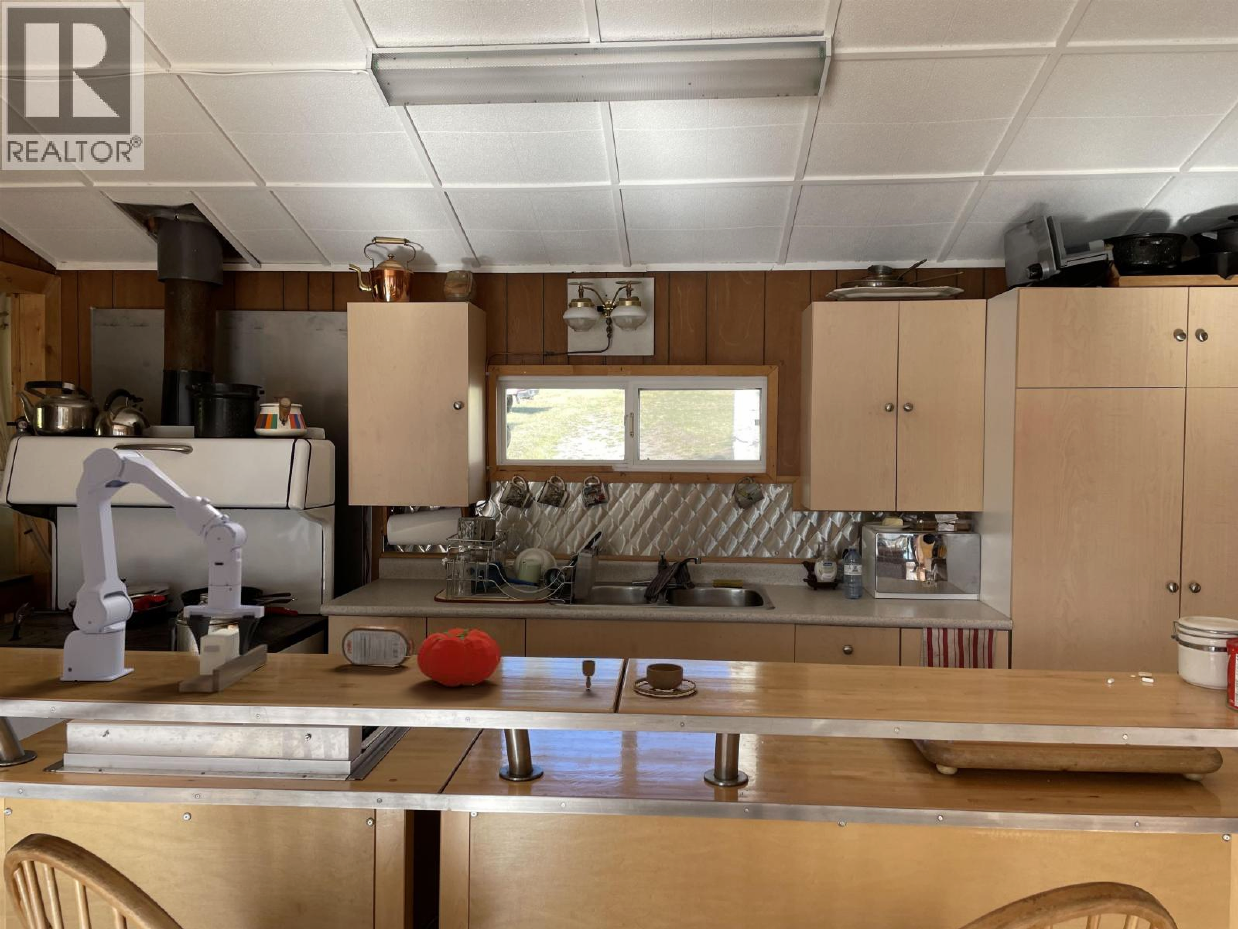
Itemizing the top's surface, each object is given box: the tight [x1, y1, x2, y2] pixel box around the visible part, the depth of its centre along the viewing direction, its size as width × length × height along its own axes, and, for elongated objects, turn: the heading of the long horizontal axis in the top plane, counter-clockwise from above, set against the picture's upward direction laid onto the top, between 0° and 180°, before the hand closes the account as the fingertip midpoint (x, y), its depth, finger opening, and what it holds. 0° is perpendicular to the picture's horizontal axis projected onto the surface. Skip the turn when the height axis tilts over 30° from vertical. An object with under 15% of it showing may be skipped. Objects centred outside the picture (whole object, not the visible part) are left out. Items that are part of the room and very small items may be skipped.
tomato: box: [416, 627, 502, 687], centre depth 153 cm, size 14×16×10 cm
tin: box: [341, 623, 415, 666], centre depth 166 cm, size 15×3×8 cm, turn 84°
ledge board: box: [178, 644, 268, 693], centre depth 155 cm, size 7×22×4 cm, turn 3°
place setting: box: [581, 659, 697, 695], centre depth 152 cm, size 18×20×6 cm
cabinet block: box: [199, 628, 240, 675], centre depth 155 cm, size 4×10×7 cm, turn 3°
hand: (223, 654), depth 155 cm, fingers open, 7 cm apart
